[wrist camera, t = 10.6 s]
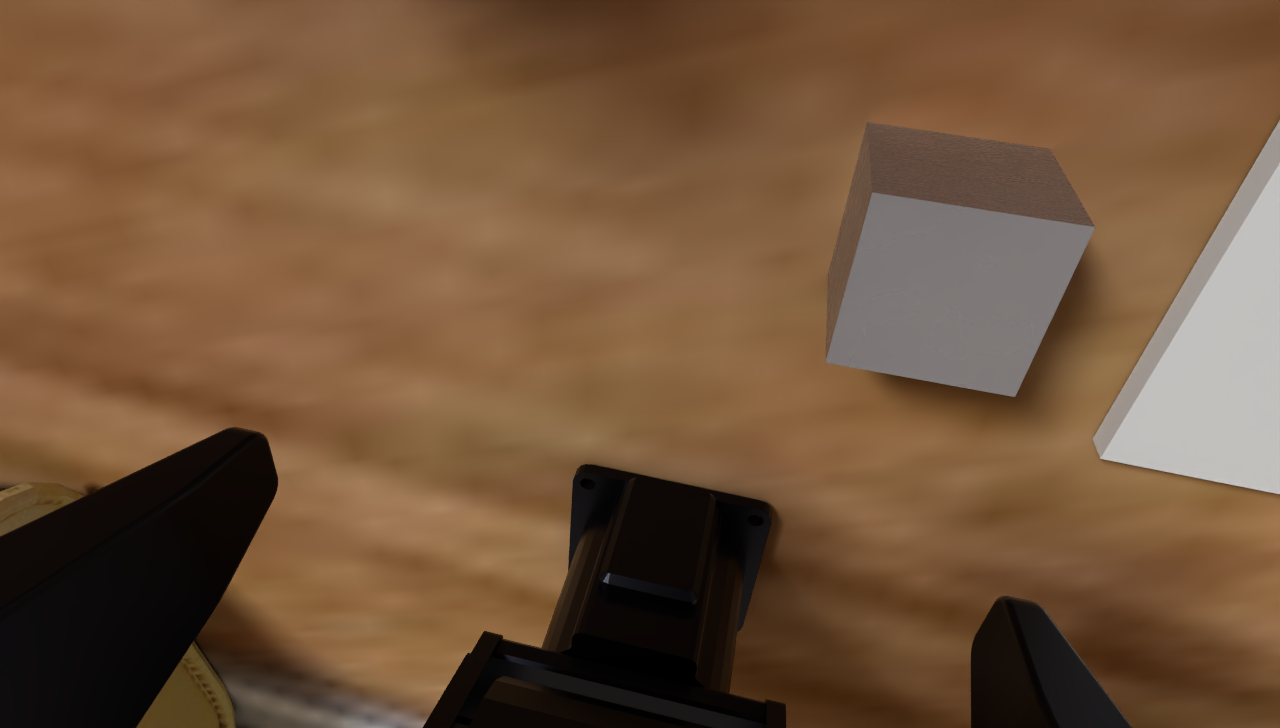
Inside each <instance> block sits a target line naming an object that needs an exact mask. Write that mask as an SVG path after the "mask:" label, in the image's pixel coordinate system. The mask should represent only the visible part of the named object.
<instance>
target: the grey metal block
mask: <svg viewBox="0 0 1280 728" xmlns="http://www.w3.org/2000/svg"><path fill="white" fill-rule="evenodd" d="M1094 229H1095V226H1094V224H1093V222H1092V221H1091V219H1090V217H1089V215H1088V214H1087V212H1086V210H1085V209H1084V207H1083V205H1082V203H1081V202H1080V200H1079V198H1078V196H1077V195H1076V193H1075V191H1074V189H1073V188H1072V186H1071V184H1070V182H1069V181H1068V179H1067V177H1066V175H1065V174H1064V172H1063V170H1062V169H1061V167H1060V165H1059V163H1058V162H1057V160H1056V158H1055V156H1054V155H1053V153H1052V151H1051V149H1048V148H1041V147H1034V146H1027V145H1020V144H1013V143H1007V142H1000V141H993V140H986V139H979V138H973V137H966V136H959V135H952V134H945V133H939V132H932V131H925V130H918V129H911V128H905V127H898V126H891V125H884V124H877V123H870V122H867V124H866V128H865V132H864V136H863V140H862V144H861V148H860V152H859V156H858V159H857V163H856V167H855V171H854V175H853V179H852V183H851V187H850V191H849V195H848V199H847V203H846V206H845V210H844V214H843V218H842V222H841V226H840V230H839V234H838V238H837V242H836V246H835V249H834V253H833V257H832V261H831V265H830V269H829V273H828V294H827V329H826V363H831V364H836V365H842V366H847V367H853V368H858V369H864V370H869V371H875V372H880V373H885V374H891V375H896V376H902V377H907V378H913V379H918V380H924V381H929V382H935V383H940V384H946V385H951V386H957V387H962V388H968V389H973V390H979V391H984V392H990V393H995V394H1001V395H1006V396H1012V397H1015V396H1016V394H1017V392H1018V390H1019V388H1020V386H1021V383H1022V381H1023V379H1024V377H1025V375H1026V373H1027V371H1028V369H1029V367H1030V364H1031V362H1032V360H1033V358H1034V356H1035V354H1036V352H1037V350H1038V347H1039V345H1040V343H1041V341H1042V339H1043V337H1044V335H1045V333H1046V331H1047V328H1048V326H1049V324H1050V322H1051V320H1052V318H1053V316H1054V314H1055V311H1056V309H1057V307H1058V305H1059V303H1060V301H1061V299H1062V297H1063V294H1064V292H1065V290H1066V288H1067V286H1068V284H1069V282H1070V280H1071V278H1072V275H1073V273H1074V271H1075V269H1076V267H1077V265H1078V263H1079V261H1080V258H1081V256H1082V254H1083V252H1084V250H1085V248H1086V246H1087V244H1088V242H1089V239H1090V237H1091V235H1092V233H1093V231H1094Z"/></svg>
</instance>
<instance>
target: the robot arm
mask: <svg viewBox="0 0 1280 728" xmlns="http://www.w3.org/2000/svg"><path fill="white" fill-rule="evenodd" d="M586 478H588V479H591V480H593V481H589V480H587V479H586ZM277 487H278V476H277V472H276V468H275V465H274V461H273V457H272V453H271V450H270V446H269V442H268V440H267V438H266V437H265V436H264V434H262V433H260V432H257V431H252V430H248V429H243V428H238V427H232V428H228V429H225V430H223V431H221V432H218V433H216V434H214V435H212V436H210V437H208V438H206V439H204V440H202V441H200V442H197V443H195V444H193V445H191V446H189V447H187V448H185V449H183V450H181V451H178V452H176V453H174V454H172V455H170V456H168V457H166V458H164V459H162V460H160V461H157V462H155V463H153V464H151V465H149V466H147V467H145V468H143V469H141V470H139V471H136V472H134V473H132V474H130V475H128V476H126V477H124V478H122V479H120V480H117V481H115V482H113V483H111V484H109V485H107V486H105V487H103V488H101V489H99V490H96V491H94V492H92V493H90V494H88V495H86V496H84V497H82V498H80V499H78V500H75V501H73V502H71V503H69V504H67V505H65V506H63V507H61V508H59V509H56V510H54V511H52V512H50V513H48V514H46V515H44V516H42V517H40V518H38V519H35V520H33V521H31V522H29V523H27V524H25V525H23V526H21V527H19V528H17V529H14V530H12V531H10V532H8V533H6V534H4V535H2V536H0V728H136V727H137V726H138V724H139V723H140V721H141V720H142V718H143V717H144V715H145V714H146V712H147V711H148V709H149V708H150V706H151V705H152V703H153V702H154V700H155V699H156V697H157V696H158V694H159V693H160V691H161V690H162V688H163V687H164V685H165V684H166V682H167V681H168V679H169V678H170V676H171V675H172V673H173V672H174V670H175V669H176V667H177V666H178V664H179V663H180V661H181V660H182V658H183V656H184V655H185V653H186V652H187V650H188V649H189V647H190V646H191V644H192V643H193V641H194V640H195V638H196V637H197V635H198V634H199V632H200V631H201V629H202V628H203V626H204V625H205V623H206V622H207V620H208V619H209V617H210V616H211V614H212V612H213V611H214V609H215V608H216V606H217V604H218V603H219V601H220V600H221V598H222V596H223V594H224V592H225V591H226V589H227V587H228V585H229V584H230V582H231V580H232V578H233V576H234V574H235V572H236V570H237V568H238V566H239V564H240V562H241V561H242V559H243V557H244V555H245V553H246V551H247V549H248V547H249V545H250V543H251V541H252V539H253V538H254V536H255V534H256V532H257V530H258V528H259V526H260V524H261V522H262V520H263V518H264V516H265V515H266V513H267V511H268V509H269V507H270V505H271V503H272V501H273V499H274V497H275V495H276V491H277ZM752 515H758V516H761V517H754V516H752ZM771 521H772V509H771V508H770V506H769V505H768V504H766V503H765V502H762V501H759V500H754V499H750V498H745V497H740V496H736V495H731V494H726V493H722V492H717V491H712V490H708V489H703V488H698V487H694V486H689V485H684V484H680V483H675V482H670V481H665V480H661V479H656V478H651V477H647V476H642V475H637V474H633V473H628V472H623V471H619V470H614V469H609V468H605V467H600V466H595V465H588V464H585V465H582V466H580V467H579V468H578V469H577V471H576V474H575V477H574V479H573V490H572V509H571V528H570V547H569V566H568V574H567V577H566V580H565V583H564V586H563V588H562V591H561V594H560V597H559V600H558V603H557V605H556V608H555V611H554V614H553V617H552V620H551V622H550V625H549V628H548V631H547V634H546V637H545V639H544V642H543V645H542V648H539V647H535V646H531V645H527V644H522V643H518V642H514V641H510V640H506V639H503V635H499V634H495V633H491V632H487V631H484V632H483V634H482V635H481V637H480V639H479V640H478V642H477V644H476V646H475V647H474V649H473V651H472V652H471V653H467V655H466V656H465V658H464V660H463V661H462V663H461V665H460V666H459V668H458V670H457V671H456V673H455V675H454V676H453V678H452V680H451V681H450V683H449V685H448V686H447V688H446V690H445V691H444V693H443V695H442V696H441V698H440V700H439V701H438V703H437V705H436V706H435V708H434V710H433V711H432V713H431V715H430V716H429V718H428V720H427V721H426V723H425V725H424V726H423V728H786V705H785V704H784V703H780V702H776V701H771V700H767V699H766V700H765V702H761V701H757V700H753V699H749V698H745V697H741V696H736V695H732V694H729V692H730V684H731V676H732V668H733V660H734V652H735V644H736V637H737V632H738V631H740V630H741V628H742V627H743V623H744V620H745V616H746V612H747V609H748V605H749V602H750V598H751V595H752V591H753V587H754V584H755V580H756V577H757V573H758V569H759V566H760V562H761V559H762V555H763V552H764V548H765V544H766V541H767V537H768V534H769V530H770V526H771ZM971 728H1132V726H1131V725H1130V724H1129V722H1128V721H1127V720H1126V718H1125V717H1124V716H1123V714H1122V713H1121V712H1120V710H1119V709H1118V708H1117V706H1116V705H1115V704H1114V702H1113V701H1112V700H1111V698H1110V697H1109V696H1108V694H1107V693H1106V692H1105V690H1104V689H1103V687H1102V686H1101V685H1100V683H1099V682H1098V681H1097V679H1096V678H1095V677H1094V675H1093V674H1092V673H1091V671H1090V670H1089V669H1088V667H1087V666H1086V665H1085V663H1084V662H1083V661H1082V659H1081V658H1080V657H1079V655H1078V654H1077V653H1076V651H1075V650H1074V649H1073V647H1072V646H1071V645H1070V643H1069V642H1068V641H1067V639H1066V638H1065V637H1064V635H1063V634H1062V633H1061V631H1060V630H1059V628H1058V627H1057V626H1056V624H1055V623H1054V622H1053V620H1052V619H1051V618H1050V616H1049V615H1048V614H1047V612H1046V611H1045V610H1044V609H1043V608H1042V607H1041V606H1040V605H1039V604H1037V603H1035V602H1032V601H1028V600H1023V599H1019V598H1014V597H1010V596H1002V597H1000V598H998V599H997V600H996V601H995V603H994V604H993V606H992V608H991V609H990V611H989V613H988V615H987V616H986V618H985V620H984V621H983V623H982V625H981V627H980V628H979V630H978V632H977V633H976V635H975V637H974V640H973V644H972V649H971Z"/></svg>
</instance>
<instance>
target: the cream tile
mask: <svg viewBox="0 0 1280 728" xmlns="http://www.w3.org/2000/svg"><path fill="white" fill-rule="evenodd" d="M1093 441H1094V444H1095V446H1096V449H1097V452H1098V454H1099V457H1100V459H1104V460H1109V461H1114V462H1119V463H1124V464H1129V465H1134V466H1140V467H1145V468H1150V469H1155V470H1160V471H1165V472H1170V473H1175V474H1180V475H1185V476H1190V477H1195V478H1200V479H1205V480H1210V481H1215V482H1220V483H1225V484H1230V485H1235V486H1240V487H1246V488H1251V489H1256V490H1261V491H1266V492H1271V493H1276V494H1280V120H1279V122H1278V124H1277V126H1276V127H1275V129H1274V131H1273V132H1272V134H1271V136H1270V137H1269V139H1268V141H1267V143H1266V144H1265V146H1264V148H1263V149H1262V151H1261V153H1260V155H1259V156H1258V158H1257V160H1256V161H1255V163H1254V165H1253V166H1252V168H1251V170H1250V172H1249V173H1248V175H1247V177H1246V178H1245V180H1244V182H1243V184H1242V185H1241V187H1240V189H1239V190H1238V192H1237V194H1236V195H1235V197H1234V199H1233V201H1232V202H1231V204H1230V206H1229V207H1228V209H1227V211H1226V212H1225V214H1224V216H1223V218H1222V219H1221V221H1220V223H1219V224H1218V226H1217V228H1216V230H1215V231H1214V233H1213V235H1212V236H1211V238H1210V240H1209V241H1208V243H1207V245H1206V247H1205V248H1204V250H1203V252H1202V253H1201V255H1200V257H1199V259H1198V260H1197V262H1196V264H1195V265H1194V267H1193V269H1192V270H1191V272H1190V274H1189V276H1188V277H1187V279H1186V281H1185V282H1184V284H1183V286H1182V288H1181V289H1180V291H1179V293H1178V294H1177V296H1176V298H1175V299H1174V301H1173V303H1172V305H1171V306H1170V308H1169V310H1168V311H1167V313H1166V315H1165V317H1164V318H1163V320H1162V322H1161V323H1160V325H1159V327H1158V328H1157V330H1156V332H1155V334H1154V335H1153V337H1152V339H1151V340H1150V342H1149V344H1148V345H1147V347H1146V349H1145V351H1144V352H1143V354H1142V356H1141V357H1140V359H1139V361H1138V363H1137V364H1136V366H1135V368H1134V369H1133V371H1132V373H1131V374H1130V376H1129V378H1128V380H1127V381H1126V383H1125V385H1124V386H1123V388H1122V390H1121V392H1120V393H1119V395H1118V397H1117V398H1116V400H1115V402H1114V403H1113V405H1112V407H1111V409H1110V410H1109V412H1108V414H1107V415H1106V417H1105V419H1104V421H1103V422H1102V424H1101V426H1100V427H1099V429H1098V431H1097V432H1096V434H1095V436H1094V438H1093Z"/></svg>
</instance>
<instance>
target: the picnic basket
mask: <svg viewBox="0 0 1280 728" xmlns="http://www.w3.org/2000/svg"><path fill="white" fill-rule="evenodd" d="M82 497H84V495H82V494H79V493H77V492H75V491H73V490H71V489H68V488H66V487H64V486H62V485H59V484H52V483H22V484H19V485H17V486H14V487H11V488H9V489H6V490H0V536H2V535H4V534H6V533H8V532H10V531H12V530H14V529H17V528H19V527H21V526H23V525H25V524H27V523H29V522H31V521H33V520H35V519H38V518H40V517H42V516H44V515H46V514H48V513H50V512H52V511H54V510H56V509H59V508H61V507H63V506H65V505H67V504H69V503H71V502H73V501H75V500H78V499H80V498H82ZM136 728H236V726H235V717H234V709H233V705H232V702H231V700H230V698H229V695H228V693H227V691H226V688H225V686H224V685H223V683H222V682H221V680H220V679H219V677H218V676H217V674H216V673H215V671H214V670H213V668H212V667H211V665H210V664H209V663H208V661H207V660H206V658H205V657H204V655H203V654H202V652H201V651H200V649H199V648H198V646H197V645H196V643H195V642H194V641H193V643H192V644H191V646H190V647H189V649H188V650H187V652H186V653H185V655H184V656H183V658H182V660H181V661H180V663H179V664H178V666H177V667H176V669H175V670H174V672H173V673H172V675H171V676H170V678H169V679H168V681H167V682H166V684H165V685H164V687H163V688H162V690H161V691H160V693H159V694H158V696H157V697H156V699H155V700H154V702H153V703H152V705H151V706H150V708H149V709H148V711H147V712H146V714H145V715H144V717H143V718H142V720H141V721H140V723H139V724H138V726H137V727H136Z"/></svg>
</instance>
